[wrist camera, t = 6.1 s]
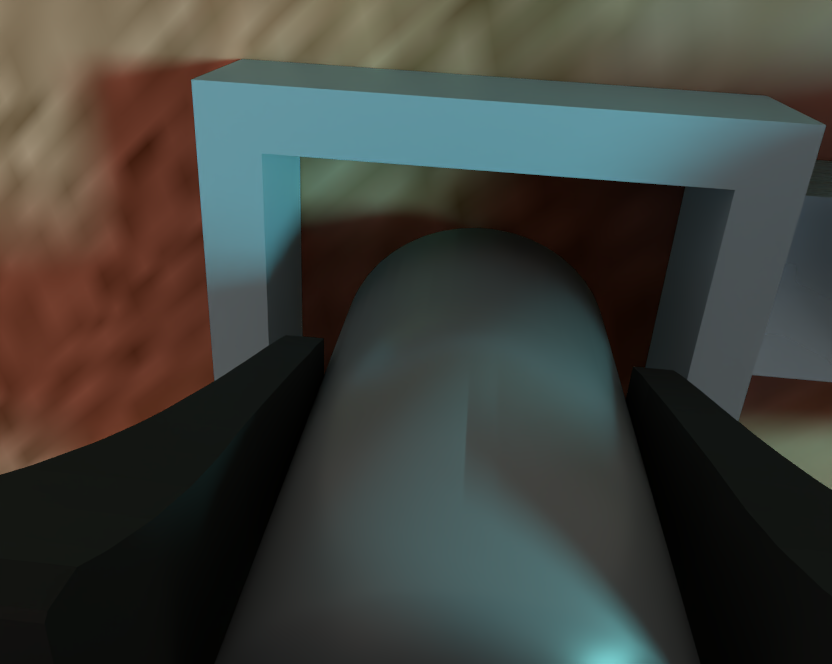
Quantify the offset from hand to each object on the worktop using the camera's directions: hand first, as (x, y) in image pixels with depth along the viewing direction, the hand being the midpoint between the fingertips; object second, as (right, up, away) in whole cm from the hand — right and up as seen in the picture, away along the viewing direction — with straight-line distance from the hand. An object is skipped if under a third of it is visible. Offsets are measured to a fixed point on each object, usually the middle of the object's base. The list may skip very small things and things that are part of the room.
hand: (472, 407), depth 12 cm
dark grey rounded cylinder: (0, +1, +2) cm, 2 cm away
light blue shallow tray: (0, +2, +3) cm, 3 cm away
